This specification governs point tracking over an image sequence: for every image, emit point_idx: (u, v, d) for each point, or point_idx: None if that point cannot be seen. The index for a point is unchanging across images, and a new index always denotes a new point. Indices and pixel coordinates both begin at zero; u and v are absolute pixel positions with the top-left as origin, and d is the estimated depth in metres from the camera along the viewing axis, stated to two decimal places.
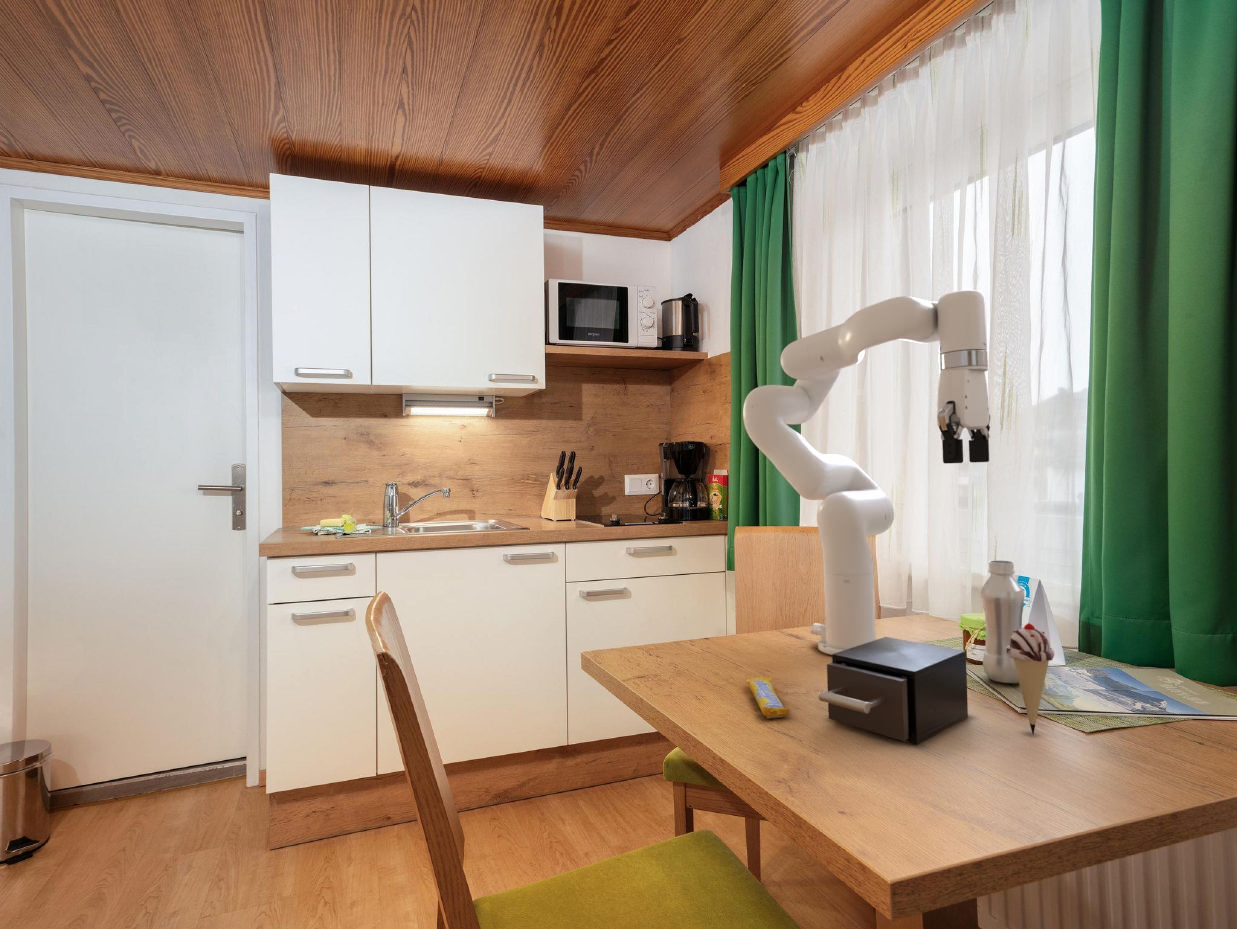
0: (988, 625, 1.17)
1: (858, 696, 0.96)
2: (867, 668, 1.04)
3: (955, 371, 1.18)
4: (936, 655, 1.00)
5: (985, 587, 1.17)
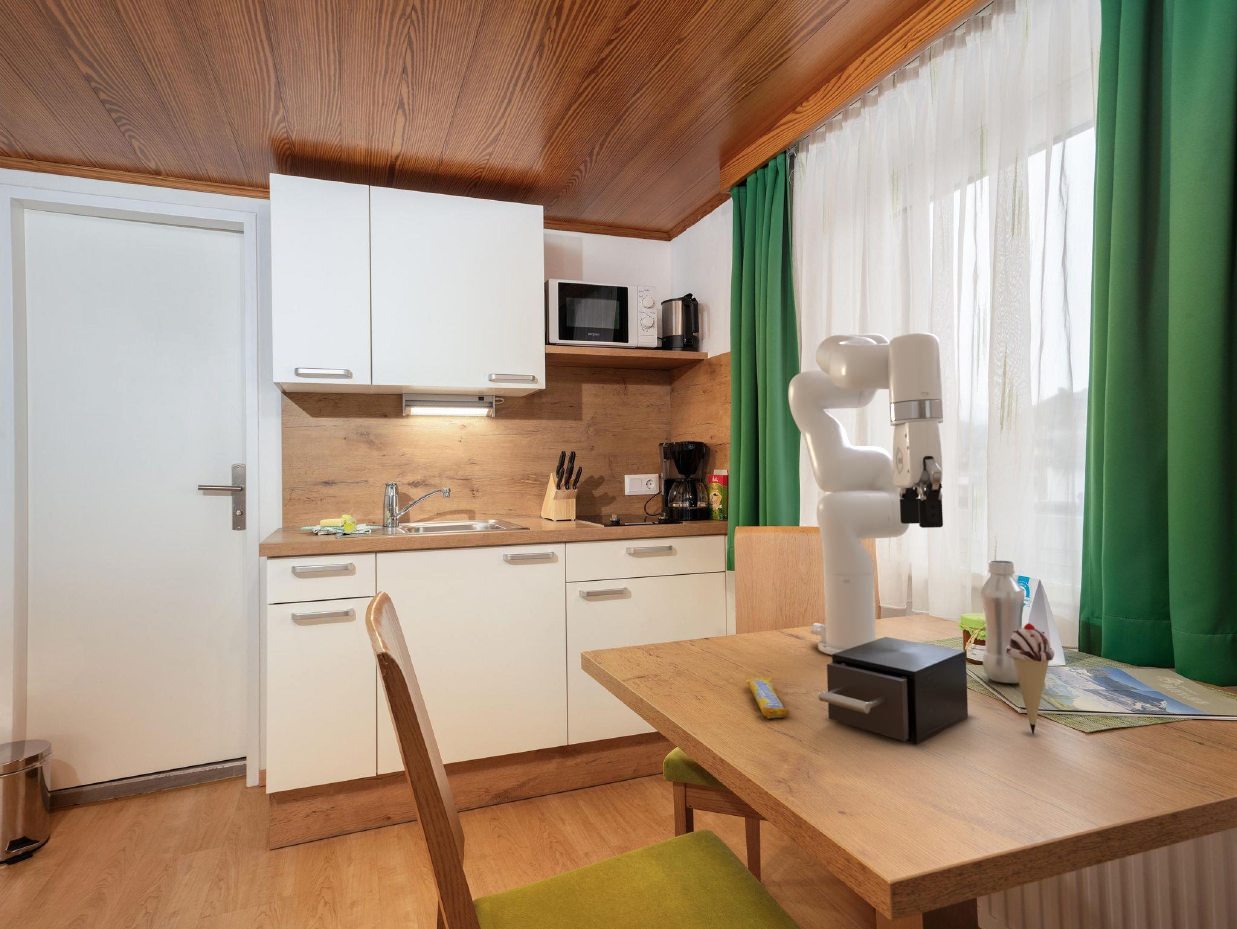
0: (988, 625, 1.17)
1: (858, 696, 0.96)
2: (867, 668, 1.04)
3: (930, 423, 1.04)
4: (936, 655, 1.00)
5: (985, 587, 1.17)
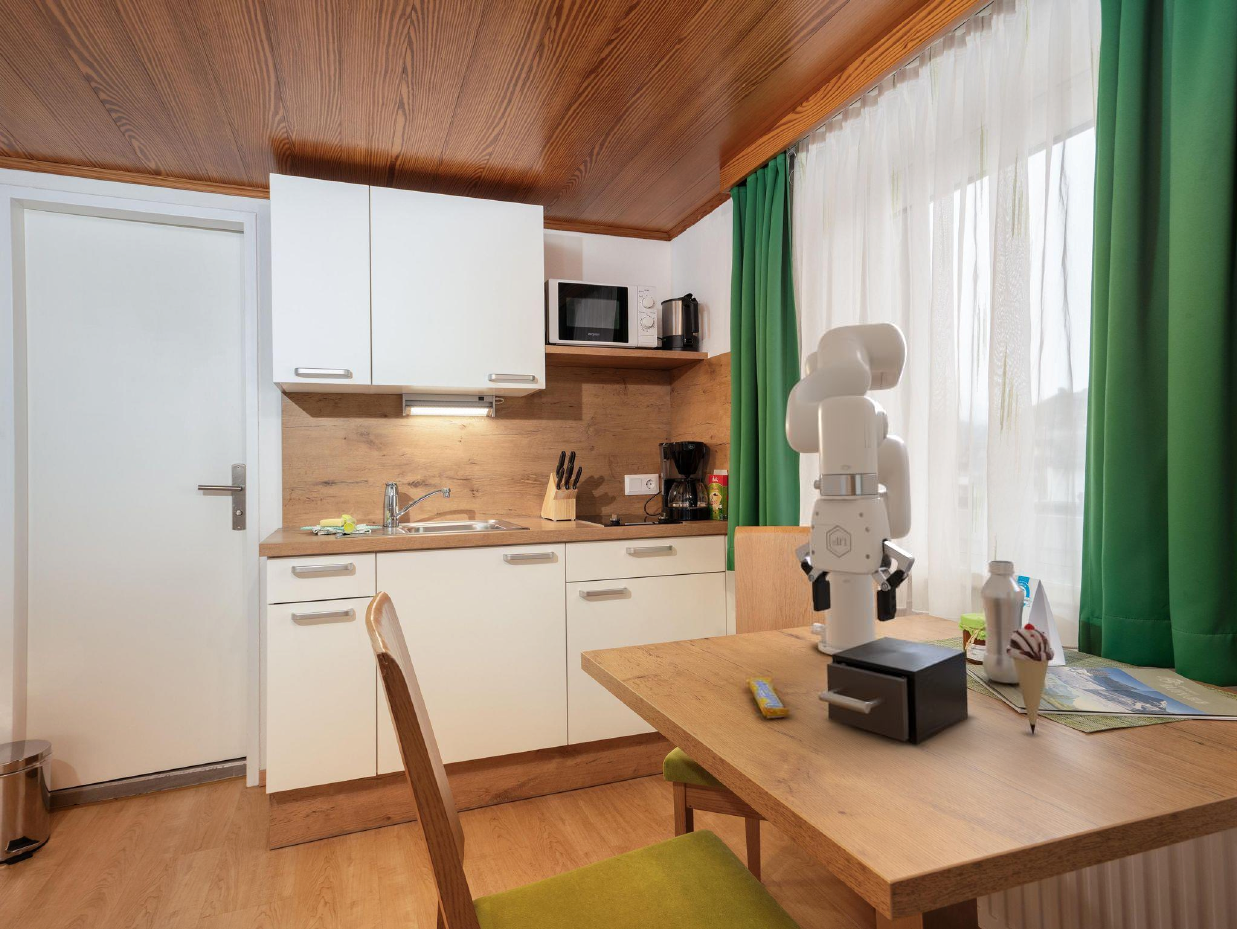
0: (988, 625, 1.17)
1: (858, 696, 0.96)
2: (867, 668, 1.04)
3: (881, 500, 0.92)
4: (936, 655, 1.00)
5: (985, 587, 1.17)
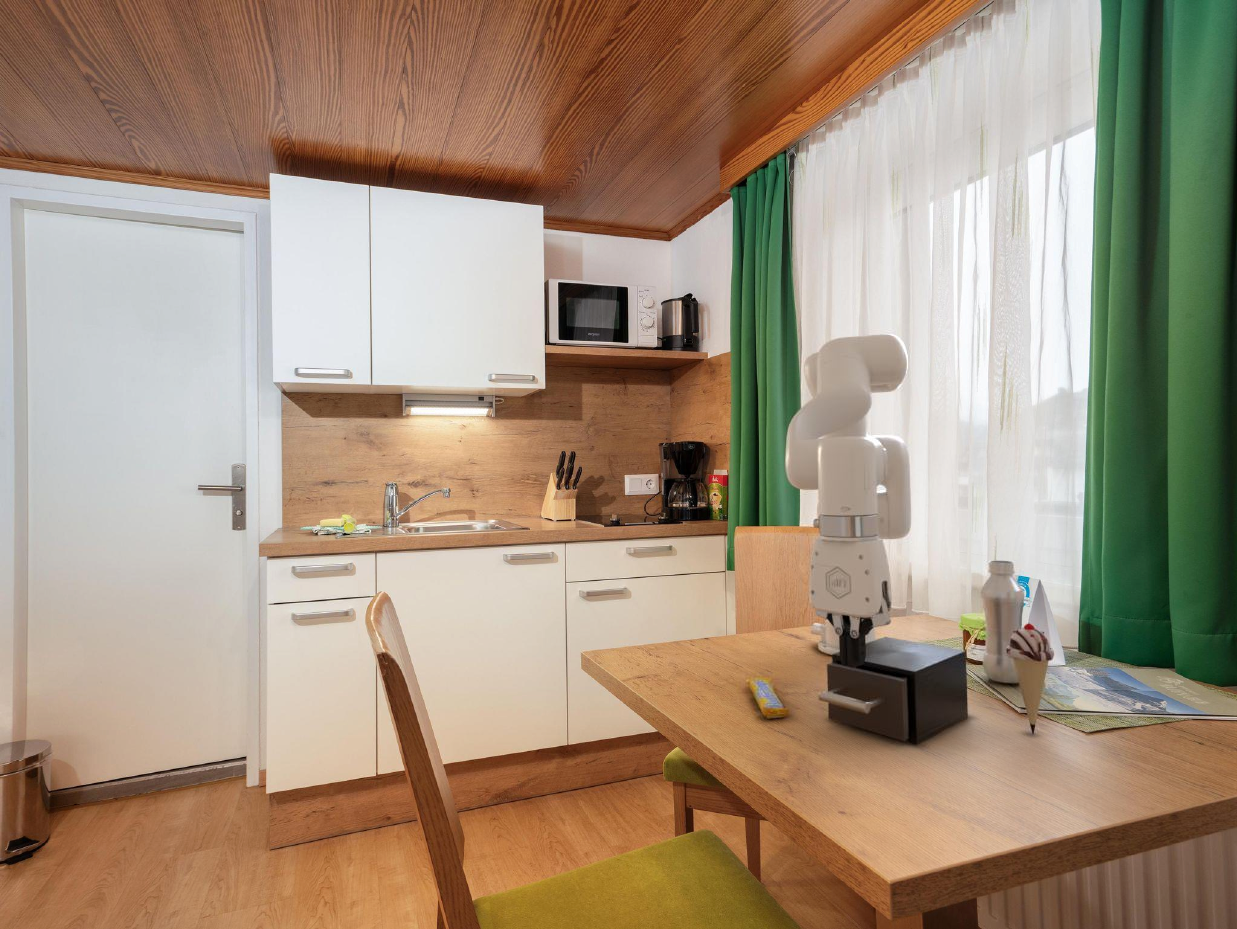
0: (988, 625, 1.17)
1: (858, 696, 0.96)
2: (867, 668, 1.04)
3: (881, 542, 0.91)
4: (936, 655, 1.00)
5: (985, 587, 1.17)
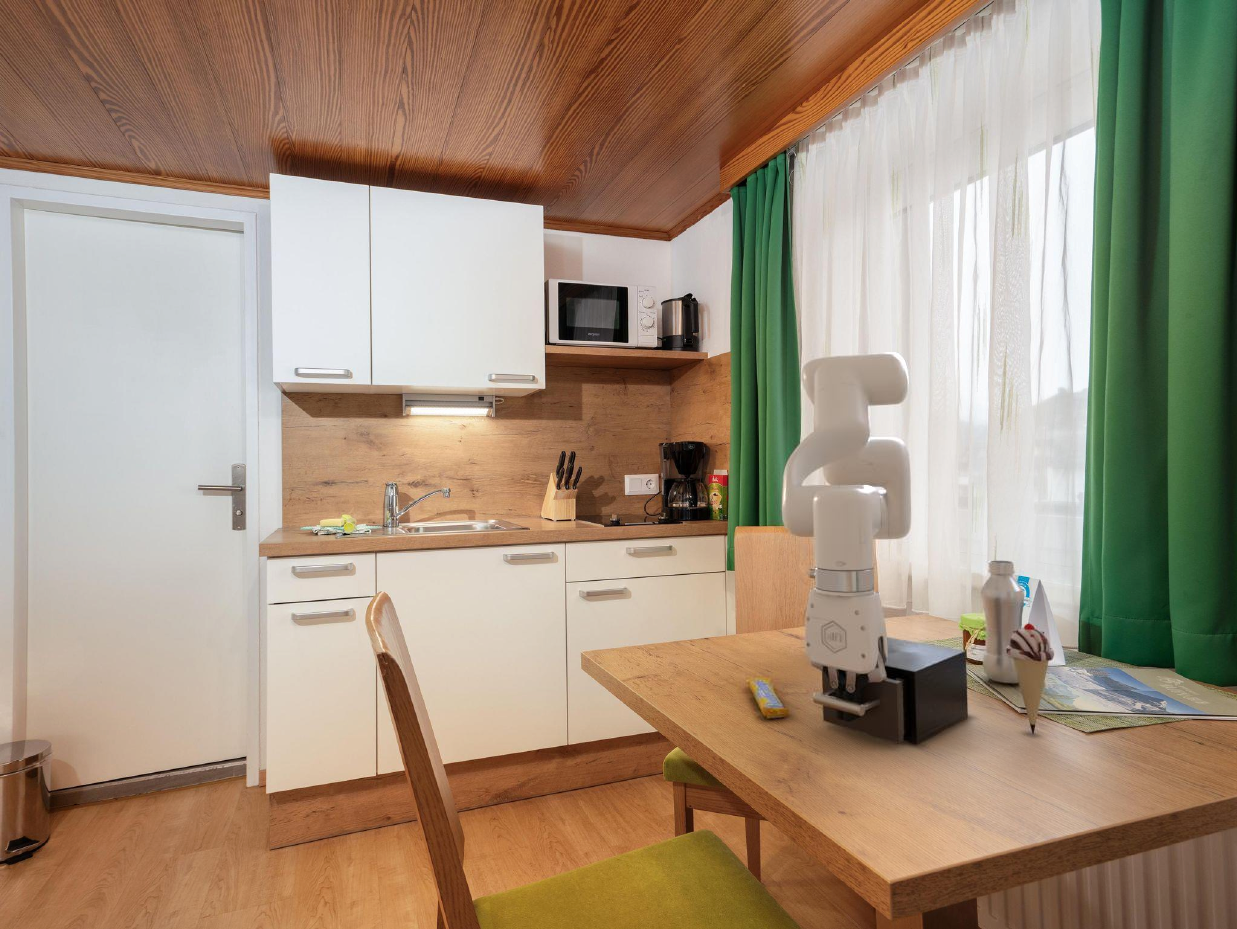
0: (988, 625, 1.17)
1: None
2: None
3: (877, 596, 0.91)
4: (936, 655, 1.00)
5: (985, 587, 1.17)
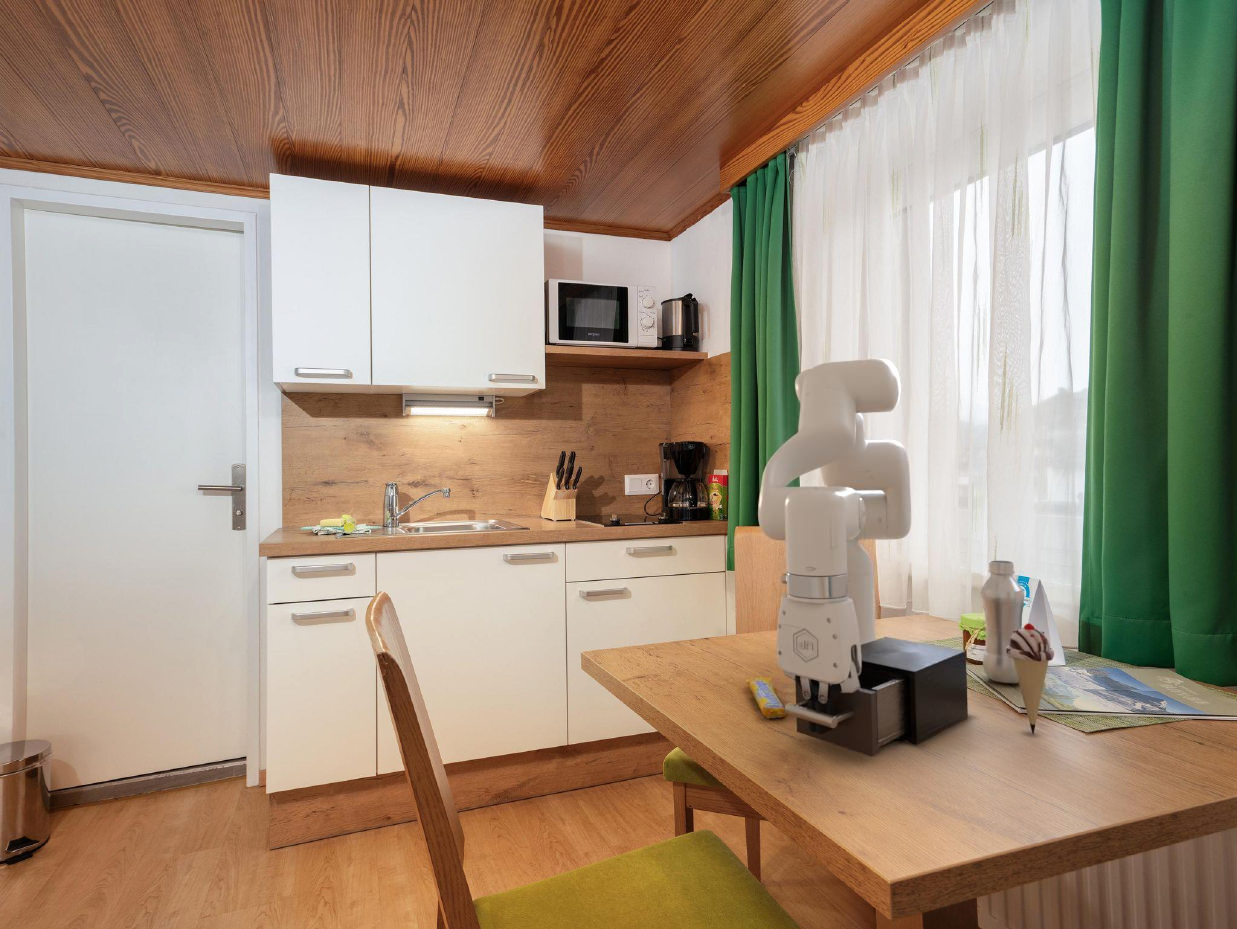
0: (988, 625, 1.17)
1: None
2: None
3: (850, 603, 0.87)
4: (936, 655, 1.00)
5: (985, 587, 1.17)
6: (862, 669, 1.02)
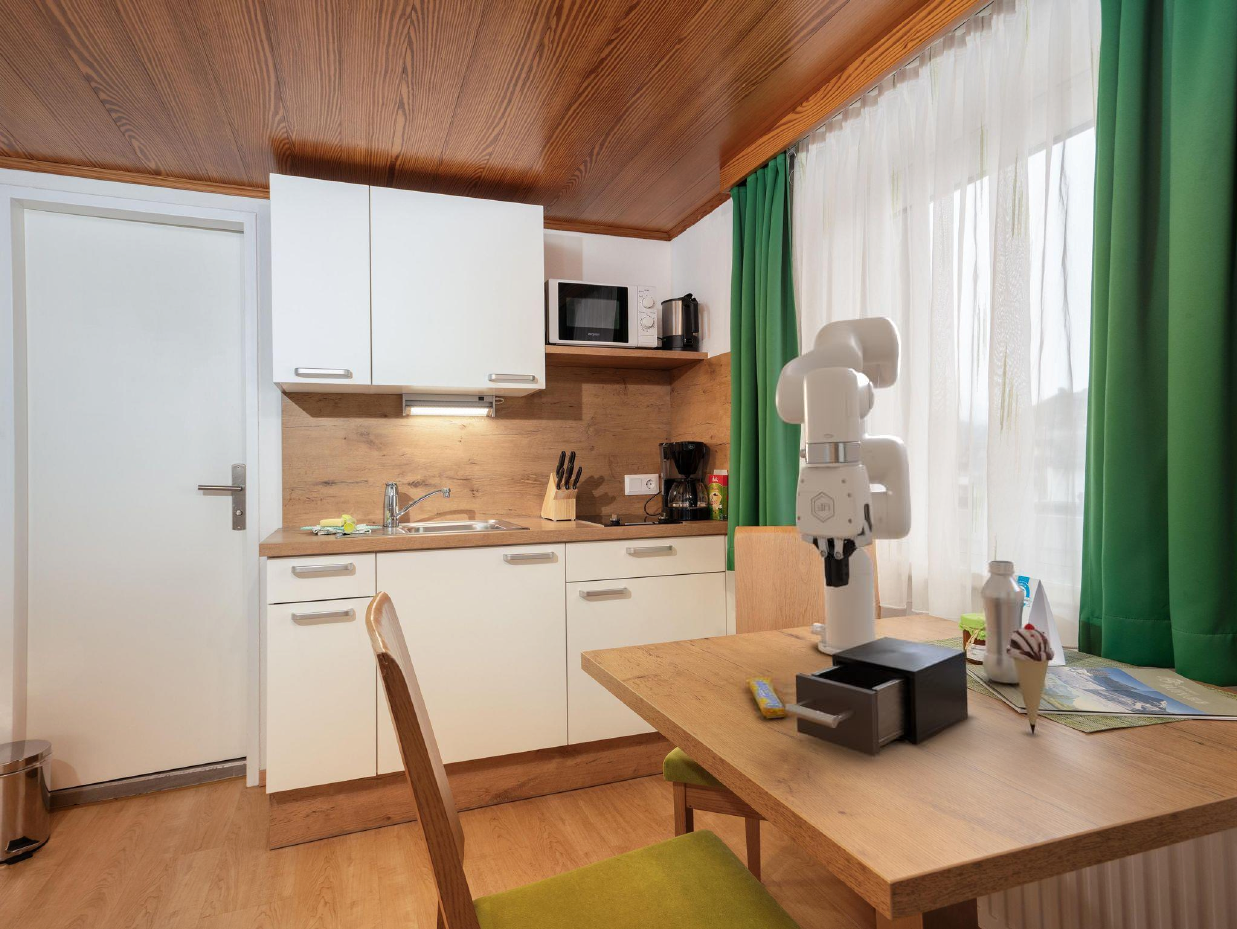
0: (988, 625, 1.17)
1: (826, 709, 0.92)
2: (839, 678, 0.99)
3: (863, 467, 0.96)
4: (936, 655, 1.00)
5: (985, 587, 1.17)
6: (862, 669, 1.02)
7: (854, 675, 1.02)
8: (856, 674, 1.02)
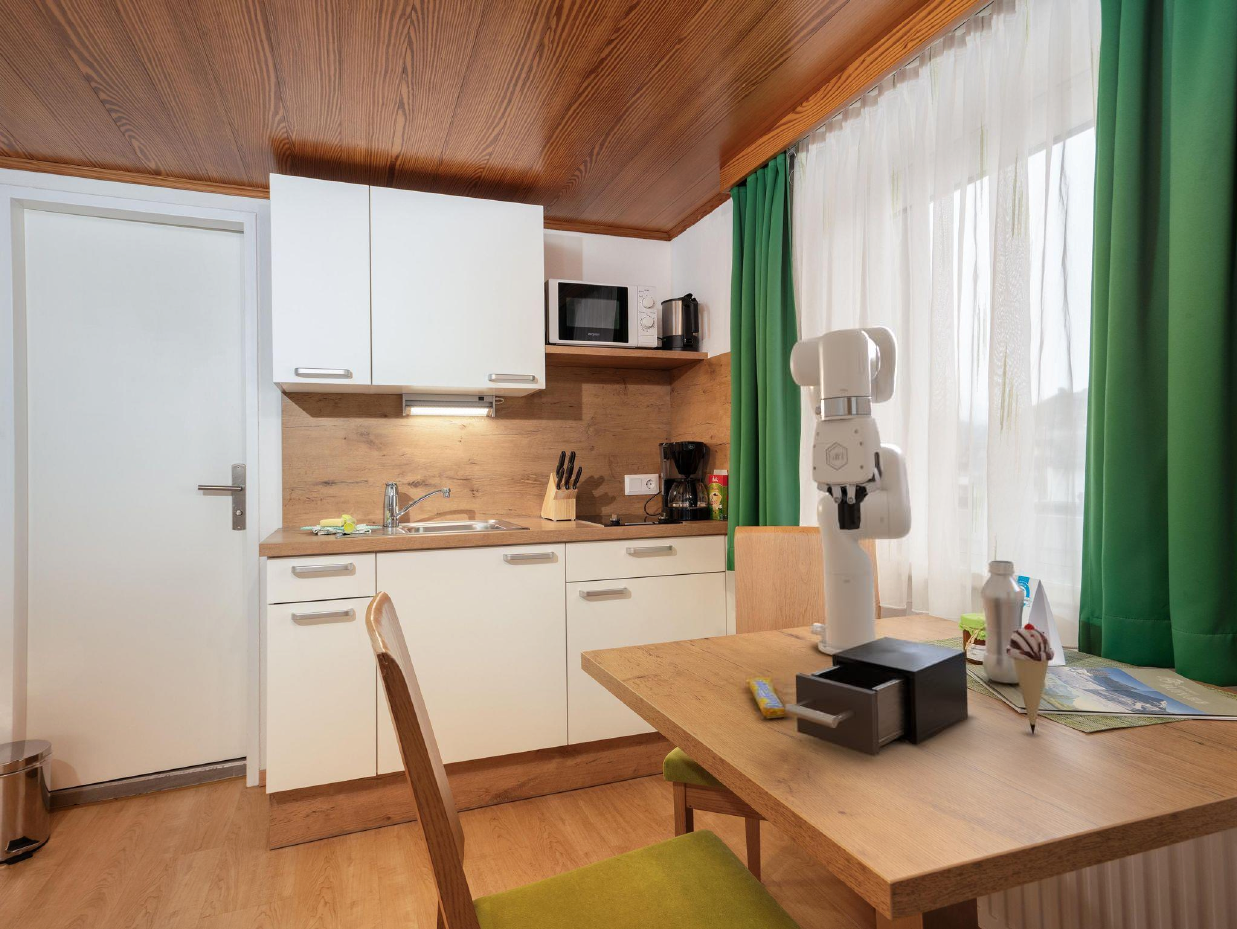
0: (988, 625, 1.17)
1: (826, 709, 0.92)
2: (839, 678, 0.99)
3: (874, 419, 1.06)
4: (936, 655, 1.00)
5: (985, 587, 1.17)
6: (862, 669, 1.02)
7: (854, 675, 1.02)
8: (856, 674, 1.02)
